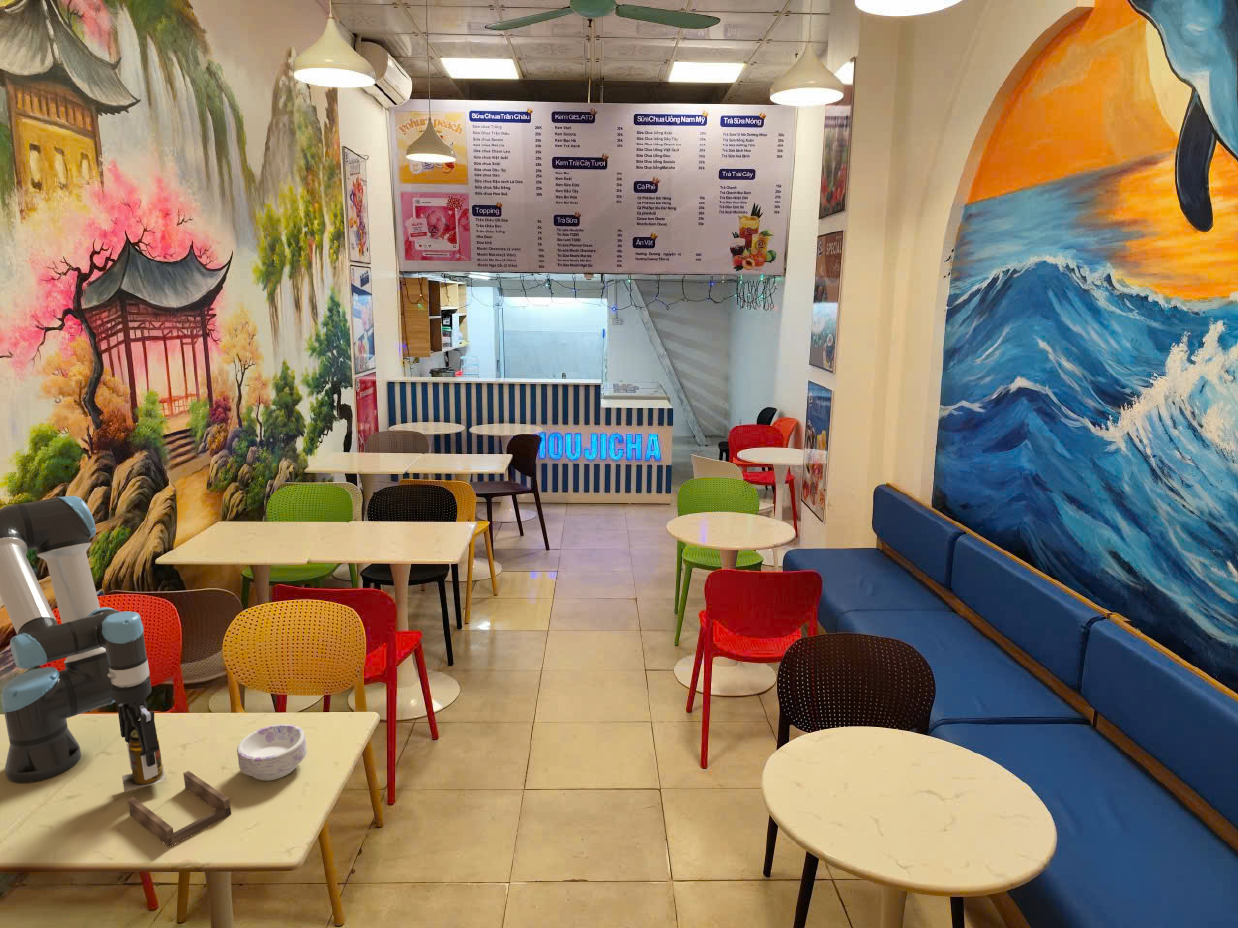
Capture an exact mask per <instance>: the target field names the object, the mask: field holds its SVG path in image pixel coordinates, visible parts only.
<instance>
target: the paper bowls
mask: <svg viewBox="0 0 1238 928" xmlns="http://www.w3.org/2000/svg"><path fill="white" fill-rule="evenodd" d="M306 740H307V739H306V733H305V732H304V730H303V729H302V727H299V726H297V725H294V724H287V723H286V724H284V723H283V724H281V723H279V724H272V725H268V726H264V727H262V728H259V729H257V730H256V729H255V731H253V732H251V733H249V734H248V735H246V736H245V737H244V738H242V740H241V741H240V742H239V743H238V745H237V748H236V754H237V759H238V768H239V770H240V771H241V772H242V773H243V774H245V775H247V776H251V777H252V778H254V779H256V780H260V781H267V782H268V781H274V780H278V779H281V778H283V777H285V776H288V775H289V774H290V773H292V772H293V771H294V770H295V769H296V768H297V766H298V765H300V763H301V762H303V760H305V758H306V756H307V750H308V748H307V741H306Z"/></svg>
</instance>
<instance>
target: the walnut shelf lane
mask: <svg viewBox="0 0 1238 928" xmlns="http://www.w3.org/2000/svg"><path fill="white" fill-rule="evenodd" d="M182 774H183V779H184V780H183V781H184V789H186V790H187V791H189V793H191V794H193V795H194V796H196V797H197V798H198V797H199V800H201V801H202V800H203V802H204V803H205V804H207V805H208V806H209V807H211V808H212V809H214V811H212V812H211V813H208V814H206V815H205V816H202V817H200V818H198V819H197V820H195V821H193V822H191V823H189V824H187V825H185V826H183V827H181V828H180V829H178V830H175V831H174V828H173V827H172V826H171V825H170V824H169V823H167V822H166V821H164V820H163V819H162V818H161V817H160V816H158V815H157V814H155V812H153V811H152V810H151V809H150V808H148V807H147V806H145V805H144V804H143V803H141V802H140V801H139V800H138V799H136V798H135V797H134V796H132V797H130V798H128V799H127V806H128V813H129V816H130V817H131V818H132V819H133V820H135V821H136V822H137V823H138V824H140V825H141V826H142V827H144V829H145V830H147V831H148V830H149V831H150V832H149V831H148V832H149V833H150V834H152V835H153V836H154V835H155V836H154V837H155V838H157V839H158V838H159V839H160V840H159V839H158V840H159V841H160V842H162V843H163V842H164V843H165V844H167V845H168V846H169V847H170V846H171V847H173V846H175V845H176V844H175V843H177V842H179V841H181V840H183V839H185V838H186V839H188V838H190V837H192V836H193V834H194V835H195V833H196V834H198V833H199V832H202V831H203V830H205V829H206V828H208V826H209V827H210V826H212V825H214V824H216V823H218V822H219V821H222V820H224V819H225V818H227V817H229V816H231V815H232V810H231V801H230V798H229V797H228V796H227V795H226V794H223V793H222V792H221V791H219V790H218V789H216V788H215V787H214V786H212V785H210V784H208V783H207V782H206V781H204V780H203V779H202V778H200V777H198V776H197V775H196V774H194V773H192V772H191V771H190V770H186V771H185V772H183V773H182ZM197 832H198V833H197ZM191 835H192V836H191ZM187 837H188V838H187ZM186 839H185V840H186ZM183 841H184V840H183ZM181 842H182V841H181ZM164 843H163V844H164ZM179 843H180V842H179ZM165 844H164V845H165ZM174 844H175V845H174ZM177 844H178V843H177ZM167 845H166V846H167ZM172 845H173V846H172ZM168 846H167V847H168ZM169 847H168V848H169ZM171 847H170V848H171Z"/></svg>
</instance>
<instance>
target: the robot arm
mask: <svg viewBox="0 0 1238 928" xmlns="http://www.w3.org/2000/svg"><path fill="white" fill-rule="evenodd" d="M96 534H97V529H96V523H95V519H94V517H93V514H92V512H91V510H90V508H89V507H88V504H87V503H86V502H85V501H84V500H83V498H81V497H79V496H78V495H66V496H56V497H52V498H51V497H50V498H47V499H42V500H35V501H31V502H30V501H29V502H24V503H23V502H22V503H18V504H11V505H7V506H4V507H2V508H0V598H1V601H2V603H3V606H4V608H5V611H6V612H7V614H8V617H9V619H10V622H11V624H12V626H13V628H14V631H15V634H16V635H15V636H13V637H11V638H10V641H9V644H10V652H11V656H12V658H13V661H14V664H15V665H16V667H17V668H19V669H20V670H22V669H30V668H33V667H34V668H35V667H38V666H43V665H46V664H48V663H52V662H55V661H59V660H62V659H64V658H66V659H64V661H63V664H64V666H65V668H64V669H62V670H58V669H57V668H56V667H53V666H46V667H45V666H44V667H43V668H42V667H39V668H35V669H31V670H29V671H26V672H24V673H21V674H19V675H17V676H15V677H14V678H12V679H11V680H9V682H8V683H6V684H5V685H4V687H3V688H2V690H1V693H0V694H1V695H0V697H1V709H2V711H3V713H4V714H3V715H4V720H5V723H6V725H5V726H6V731H7V736H8V741H9V747H8V752H7V757H6V761H5V766H4V771H5V776H6V779H7V780H8V781H10V782H13V783H17V784H19V783H24V784H25V783H26V784H27V783H32V782H33V783H36V782H38V781H42V780H46V779H50V778H53V777H56V776H58V775H60V774H62V773H64V772H66V771H68V770H69V769H71V768H72V767H74V765H76V764H77V763H78V762H79V761H80V759H81V756H82V751H81V746H80V744H79V742H78V741H77V740H76V738H75V736H74V735H73V733H72V732H71V731H70V729H69V727H68V721H67V719H69V718H72V717H74V716H78V715H81V714H83V713H87V712H90V711H92V710H96V709H99V708H101V707H105V706H110V705H112V704H113V703H115V704H116V707H117V715H118V720H119V721H118V723H119V729H120V736H121V737H122V738H124V742H125V743H126V747H127V753H128V759H129V761H128V762H129V766H130V767H129V768H130V770H132V767H131V759H130V753H129V745H130V739H129V735H130V733H131V732H132V731H134V730H135V729H136V731H137V735H138V739H139V742H140V746H141V749H142V753H140V754H139V755H140V756H141V760H142V767H143V774H144V779H145V780H147V779H150V778H152V777H154V776H156V775H158V770H157V763H156V757H155V752H156V751H158V750H159V747H160V743H159V744H158V740H159V738H158V733H157V728H156V723H155V711H154V710H150V711H148V710H149V705H148V703H147V701H146V698H147V697H148V696H149V695H150V694H151V693H152V690H153V689H152V682H151V677H150V668H149V661H148V657H147V656H148V655H147V650H146V643H145V636H144V635H145V634H144V624H143V621H142V619H141V615H140V614H139V613H138V612H136V611H129V610H127V611H120V610H116V609H115V608H112V607H108V606H107V607H105V606H104V607H100V601H99V599H98V594H97V589H96V586H95V583H94V582H95V581H94V578H93V574H92V569H91V567H90V562H89V558H88V554H87V551H88V549H90V547H91V545H92V542H91V539H92V538H93V537H95V536H96ZM31 550H35V552H36V555H37V557H38V558H40V559H42V560H44V561H45V562H46V566H47V569H48V573H49V577H50V581H51V586H52V589H53V592H54V593H53V594H54V597H55V601H56V606H57V609H58V613H59V616H60V621H61V623H58V620H57V618H56V616H55V615H54V613H53V611H52V608H51V606H50V603H49V602H48V599H47V597H46V596H45V593H44V591H43V589H42V587H41V585H40V583H39V581H38V578H37V575H36V573H35V571H34V570H33V568H32V565H31V563H30V561H29V559H28V558H27V553H28V551H31Z"/></svg>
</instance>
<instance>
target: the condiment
mask: <svg viewBox="0 0 1238 928" xmlns="http://www.w3.org/2000/svg"><path fill="white" fill-rule="evenodd" d="M129 739H130V745H129V753H130V759H131V767H132V769H131V771H132V772H131V773H127V774H125V775H122V776H121V779H122V785H123V786H122V787H123V793H128V792H130V791H133V790H136V789H138V790H139V788H144V787H149V786H151V785H155V784H159V783H162V782H165V781H167V775H166V771H165V767H164V764H163V763H162V762H163V760H162V756H161V755H162V754H161V747H160V746H159V750H158V751H156V752H155V757H156V763H157V770H158V775H156V776H154V777H152V778H150V779H147V780H145V779H144V774H143V767H142V760H141V756H140V755H139V754H140V753H142V749H141V746H140V742H139V739H138V735H137V731H136V729H135V730H134V731H132V732H131V733H130V735H129ZM158 744H159V745H160V741H159V739H158ZM131 767H130V768H131Z"/></svg>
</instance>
